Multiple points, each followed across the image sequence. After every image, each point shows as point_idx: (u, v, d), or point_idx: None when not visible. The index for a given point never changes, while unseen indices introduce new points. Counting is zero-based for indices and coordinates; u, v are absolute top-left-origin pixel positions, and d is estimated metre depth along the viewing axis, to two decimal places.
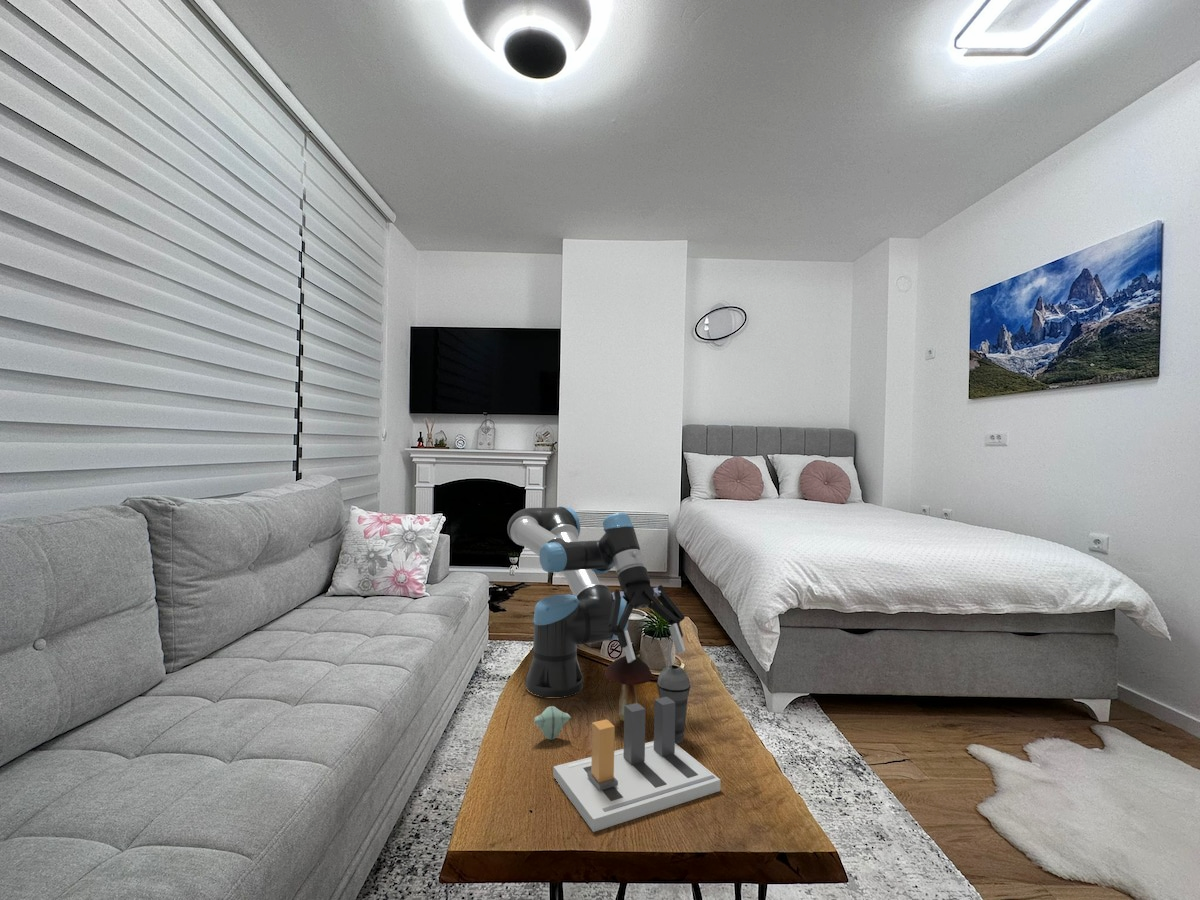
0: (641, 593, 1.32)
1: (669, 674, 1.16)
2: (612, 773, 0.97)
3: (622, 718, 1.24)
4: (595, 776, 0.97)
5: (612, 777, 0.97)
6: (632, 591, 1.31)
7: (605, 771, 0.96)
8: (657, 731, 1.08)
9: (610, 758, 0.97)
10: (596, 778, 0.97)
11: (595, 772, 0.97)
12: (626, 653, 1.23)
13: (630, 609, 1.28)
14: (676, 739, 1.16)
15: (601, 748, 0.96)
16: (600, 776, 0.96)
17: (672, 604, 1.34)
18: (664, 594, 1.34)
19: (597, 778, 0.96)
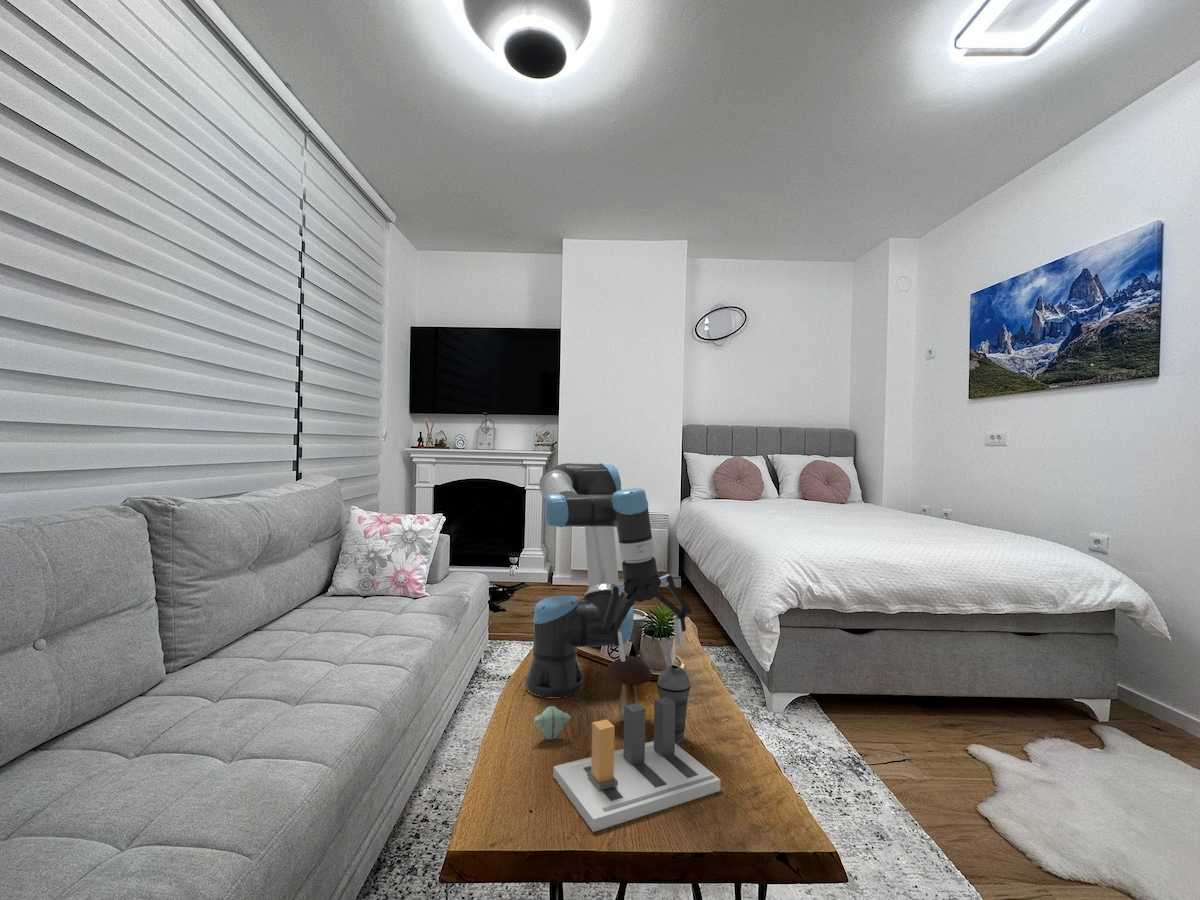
0: (644, 588, 1.19)
1: (669, 674, 1.16)
2: (612, 773, 0.97)
3: (622, 718, 1.24)
4: (595, 776, 0.97)
5: (612, 777, 0.97)
6: (634, 586, 1.19)
7: (605, 771, 0.96)
8: (657, 731, 1.08)
9: (610, 758, 0.97)
10: (596, 778, 0.97)
11: (595, 772, 0.97)
12: (618, 649, 1.20)
13: (628, 608, 1.18)
14: (676, 739, 1.16)
15: (601, 748, 0.96)
16: (600, 776, 0.96)
17: (679, 597, 1.21)
18: (672, 586, 1.20)
19: (597, 778, 0.96)
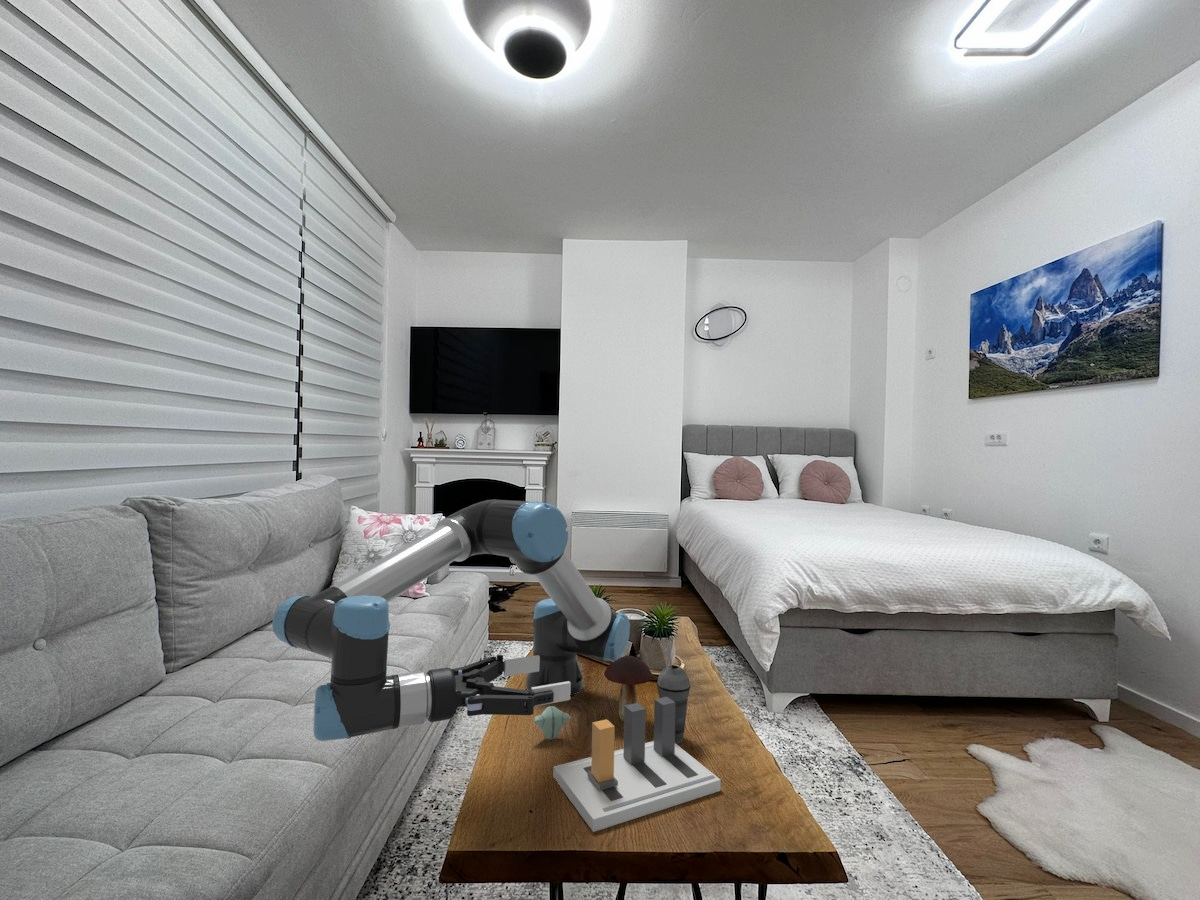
0: None
1: (669, 674, 1.16)
2: (612, 773, 0.97)
3: (622, 718, 1.24)
4: (595, 776, 0.97)
5: (612, 777, 0.97)
6: None
7: (605, 771, 0.96)
8: (657, 731, 1.08)
9: (610, 758, 0.97)
10: (596, 778, 0.97)
11: (595, 772, 0.97)
12: None
13: None
14: (676, 739, 1.16)
15: (601, 748, 0.96)
16: (600, 776, 0.96)
17: None
18: None
19: (597, 778, 0.96)
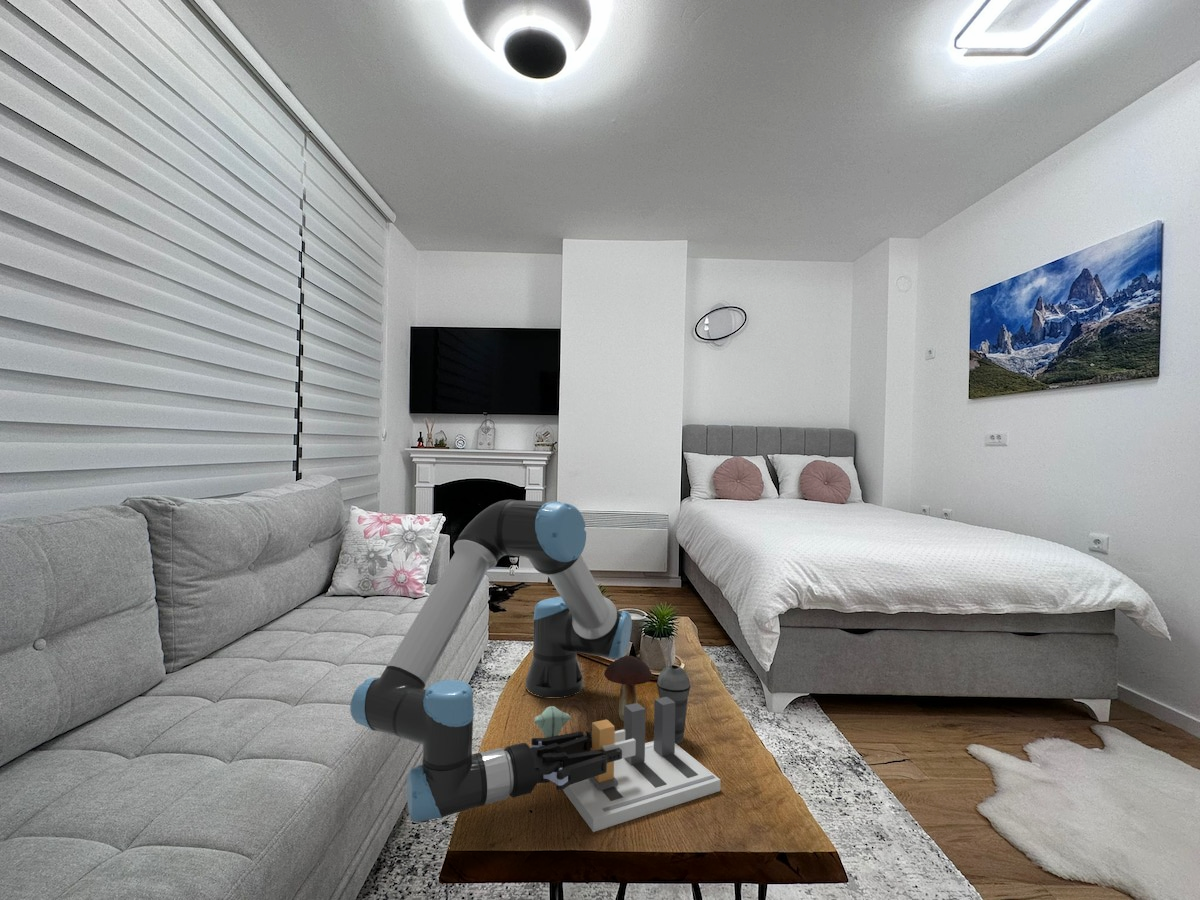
0: None
1: (669, 674, 1.16)
2: (612, 773, 0.97)
3: (622, 718, 1.24)
4: (595, 776, 0.97)
5: (612, 777, 0.97)
6: None
7: None
8: (657, 731, 1.08)
9: None
10: (596, 778, 0.97)
11: None
12: None
13: None
14: (676, 739, 1.16)
15: (601, 748, 0.96)
16: (600, 776, 0.96)
17: None
18: None
19: (597, 778, 0.96)
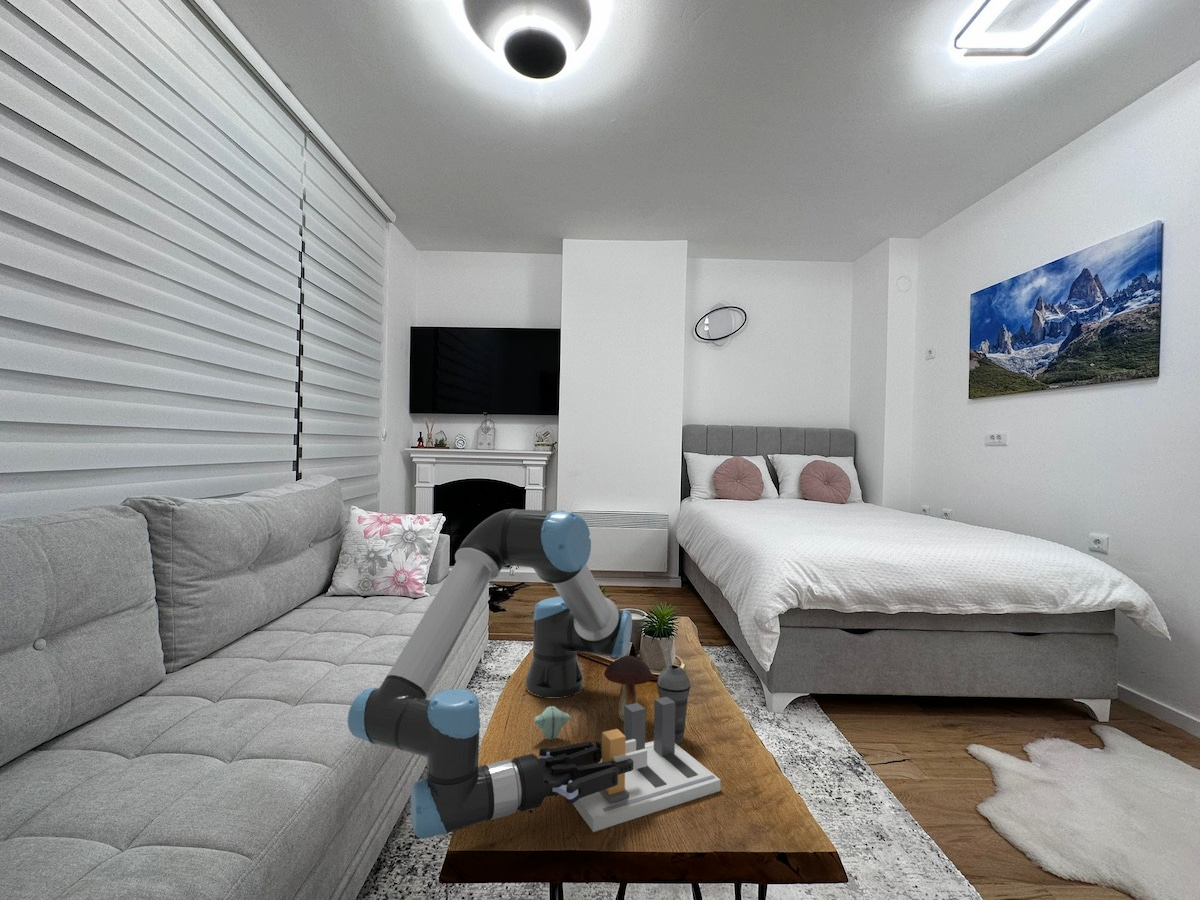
0: None
1: (669, 674, 1.16)
2: (623, 785, 0.93)
3: (622, 718, 1.24)
4: None
5: (623, 789, 0.93)
6: None
7: None
8: (657, 731, 1.08)
9: None
10: (606, 790, 0.93)
11: None
12: None
13: None
14: (676, 739, 1.16)
15: (611, 759, 0.93)
16: (611, 788, 0.92)
17: None
18: None
19: (607, 790, 0.93)
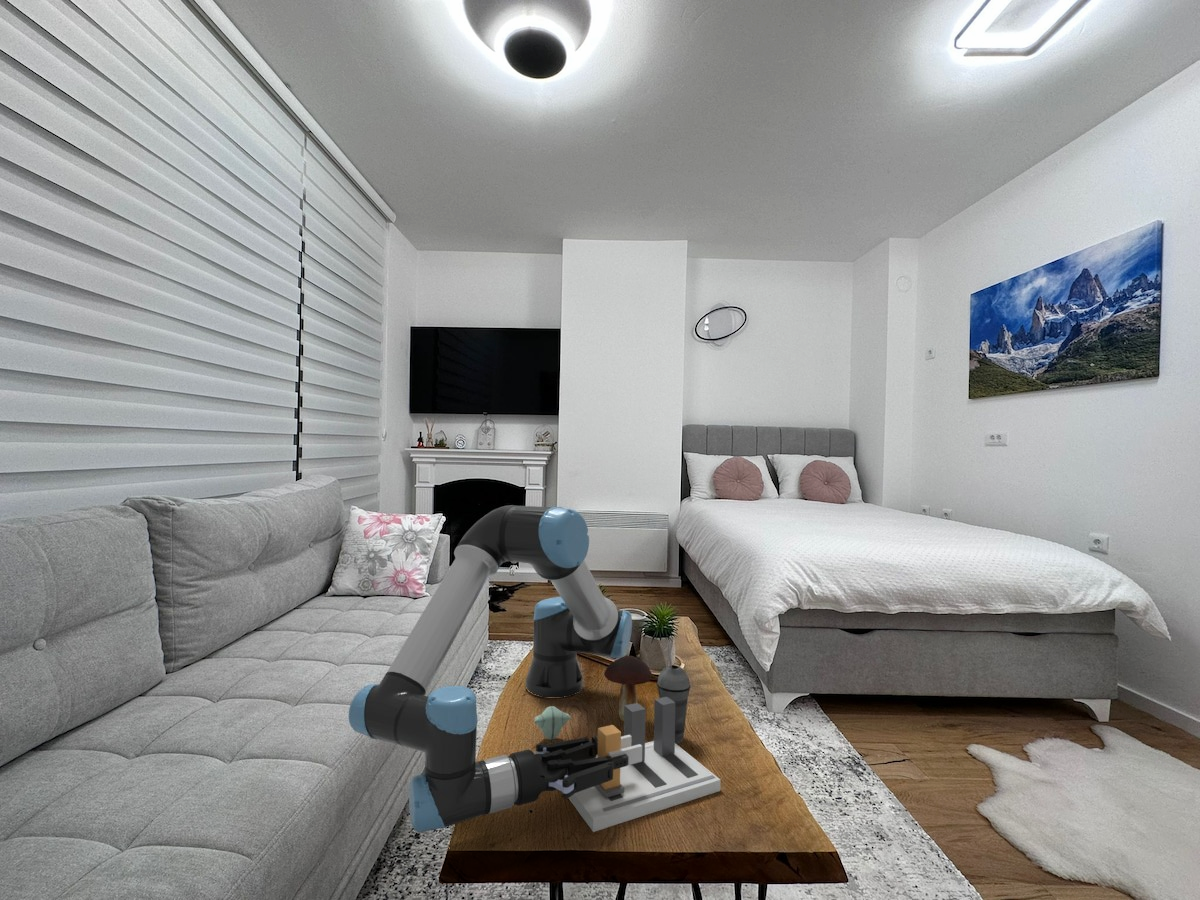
0: None
1: (669, 674, 1.16)
2: (618, 780, 0.95)
3: (622, 718, 1.24)
4: None
5: (618, 784, 0.95)
6: None
7: None
8: (657, 731, 1.08)
9: None
10: (602, 785, 0.94)
11: None
12: None
13: None
14: (676, 739, 1.16)
15: (607, 755, 0.94)
16: (606, 783, 0.94)
17: None
18: None
19: (603, 785, 0.94)
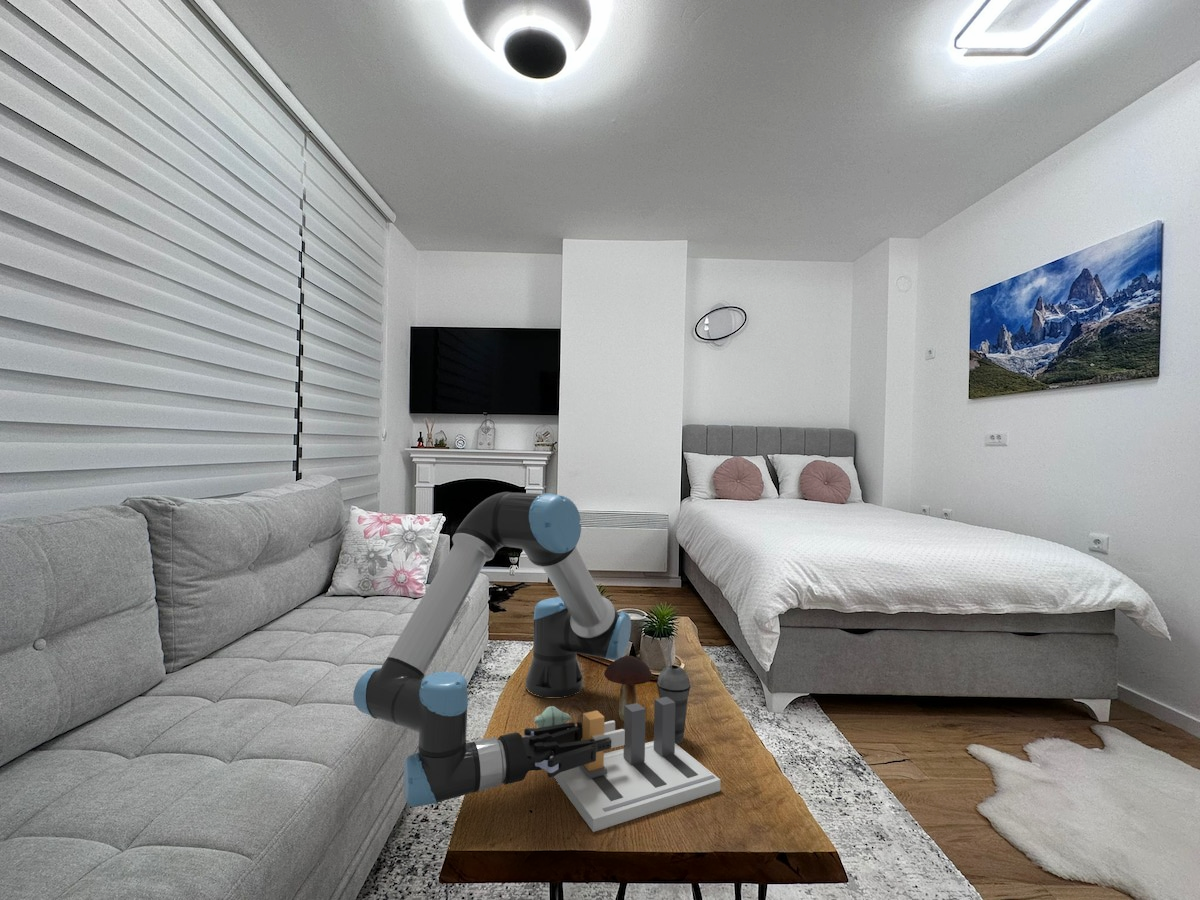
0: None
1: (669, 674, 1.16)
2: (602, 762, 1.01)
3: (622, 718, 1.24)
4: (585, 765, 1.00)
5: (602, 766, 1.01)
6: None
7: None
8: (657, 731, 1.08)
9: None
10: (586, 767, 1.00)
11: None
12: None
13: None
14: (676, 739, 1.16)
15: (591, 738, 1.00)
16: (590, 765, 0.99)
17: None
18: None
19: (587, 767, 1.00)
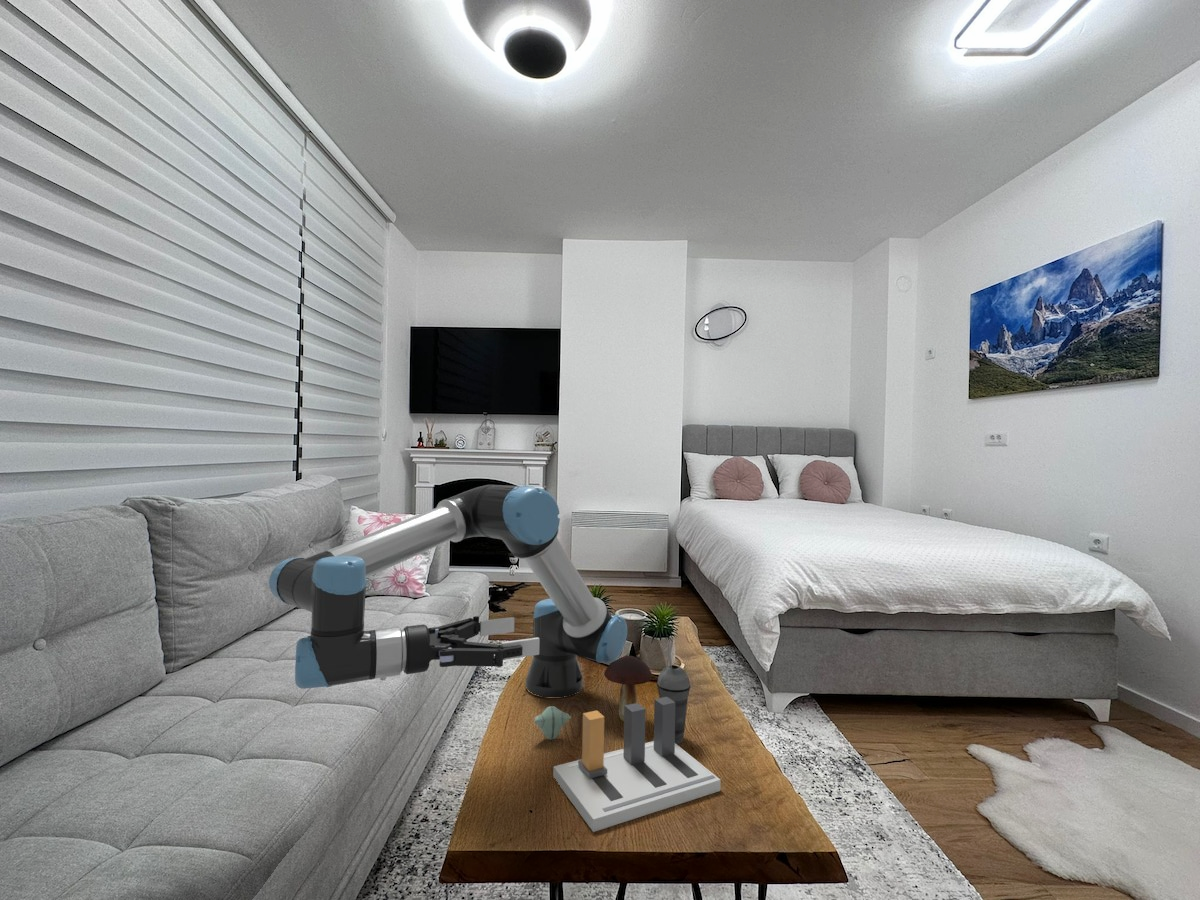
0: None
1: (669, 674, 1.16)
2: (602, 762, 1.01)
3: (622, 718, 1.24)
4: (585, 765, 1.00)
5: (602, 766, 1.01)
6: None
7: (595, 760, 1.00)
8: (657, 731, 1.08)
9: (600, 748, 1.00)
10: (586, 767, 1.00)
11: (585, 761, 1.01)
12: None
13: None
14: (676, 739, 1.16)
15: (591, 738, 1.00)
16: (590, 765, 0.99)
17: None
18: None
19: (587, 767, 1.00)
